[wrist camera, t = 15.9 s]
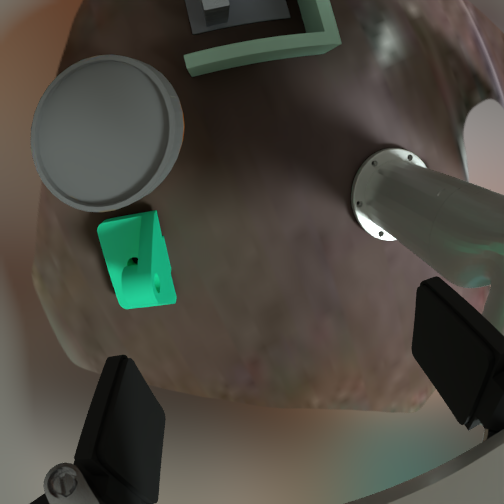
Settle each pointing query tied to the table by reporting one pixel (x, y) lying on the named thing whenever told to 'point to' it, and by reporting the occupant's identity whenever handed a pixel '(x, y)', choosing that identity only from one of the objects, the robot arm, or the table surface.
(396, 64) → the table surface
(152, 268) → the camera mount
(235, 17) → the mat
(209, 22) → the bracket
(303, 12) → the corner walls
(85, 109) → the reusable coffee cup
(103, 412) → the robot arm
